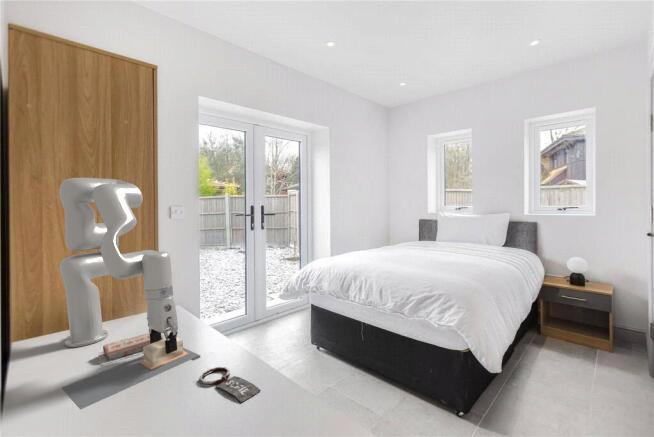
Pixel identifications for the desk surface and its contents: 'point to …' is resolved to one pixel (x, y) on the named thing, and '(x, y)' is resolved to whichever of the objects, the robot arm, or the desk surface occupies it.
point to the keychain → (231, 384)
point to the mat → (120, 379)
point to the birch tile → (160, 352)
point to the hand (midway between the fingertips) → (163, 348)
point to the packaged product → (124, 349)
